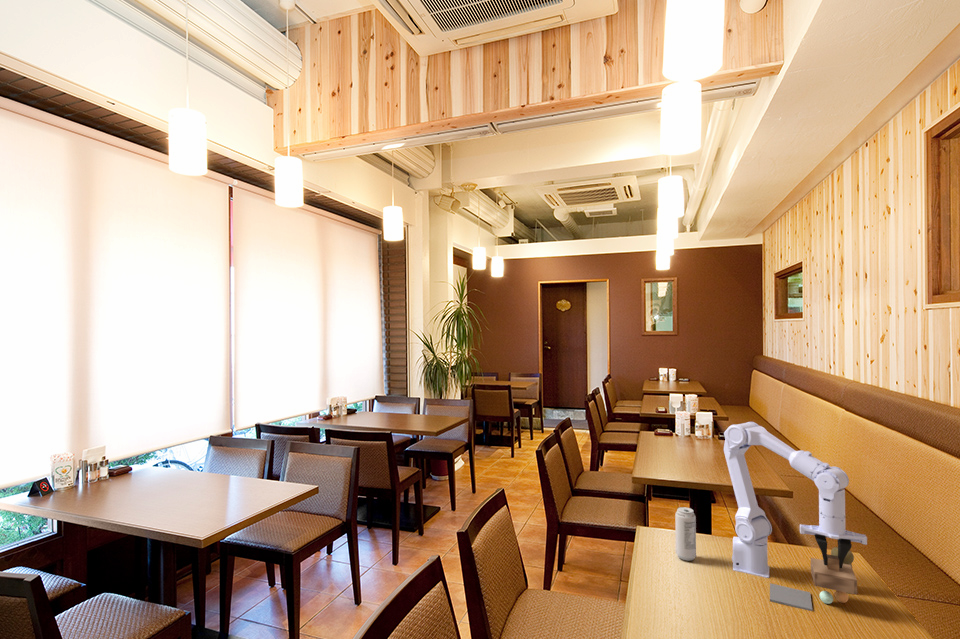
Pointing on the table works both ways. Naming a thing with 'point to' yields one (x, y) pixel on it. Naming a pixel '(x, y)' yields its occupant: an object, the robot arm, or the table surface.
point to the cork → (848, 558)
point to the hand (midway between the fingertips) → (832, 565)
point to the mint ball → (826, 597)
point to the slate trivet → (790, 597)
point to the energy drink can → (685, 533)
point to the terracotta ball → (841, 596)
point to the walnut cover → (833, 575)
